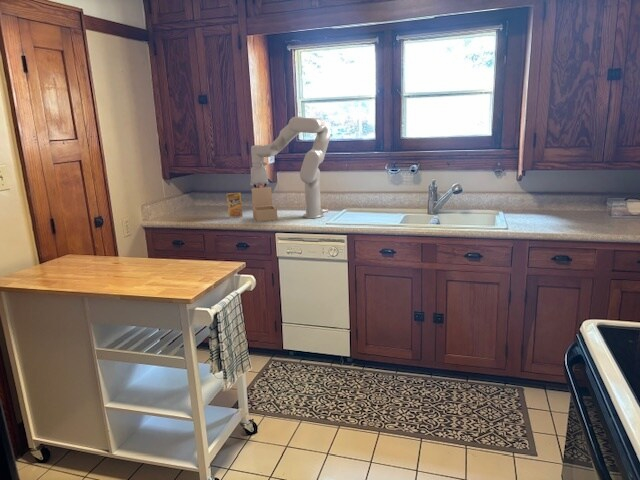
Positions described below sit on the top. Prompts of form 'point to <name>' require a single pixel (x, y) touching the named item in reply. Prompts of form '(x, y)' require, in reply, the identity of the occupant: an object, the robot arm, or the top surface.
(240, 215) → the candy box
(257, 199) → the taped cardboard box
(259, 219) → the carton
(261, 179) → the robot arm
